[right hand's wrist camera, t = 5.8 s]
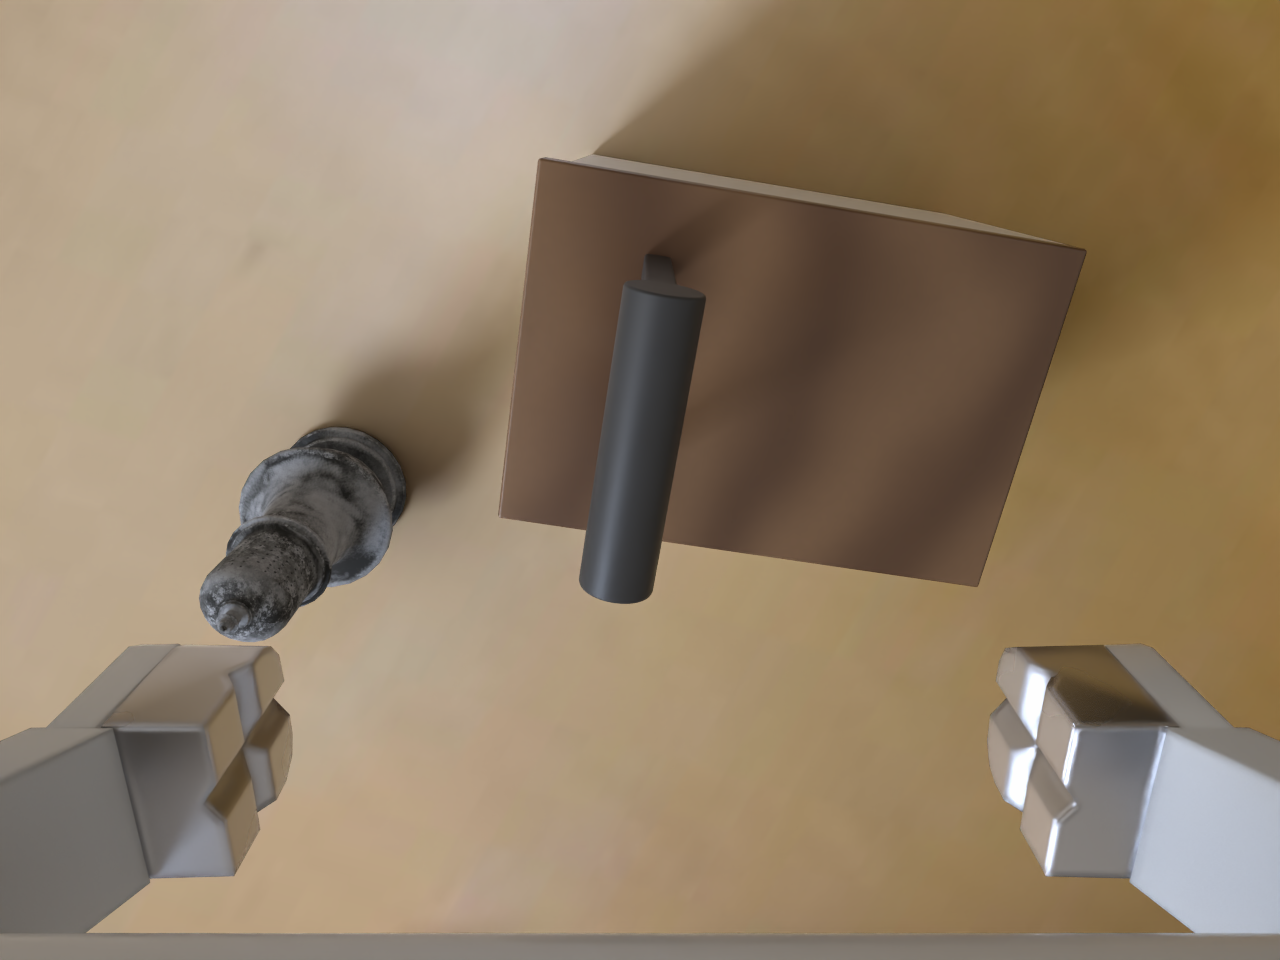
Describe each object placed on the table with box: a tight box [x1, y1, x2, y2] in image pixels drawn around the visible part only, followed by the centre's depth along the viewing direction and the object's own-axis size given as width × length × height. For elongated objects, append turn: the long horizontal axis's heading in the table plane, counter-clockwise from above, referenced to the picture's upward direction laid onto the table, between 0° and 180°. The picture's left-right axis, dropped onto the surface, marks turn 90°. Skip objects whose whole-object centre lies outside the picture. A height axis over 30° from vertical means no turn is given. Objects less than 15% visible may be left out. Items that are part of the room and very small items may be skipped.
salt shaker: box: [199, 427, 406, 642], centre depth 33 cm, size 6×6×12 cm
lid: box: [498, 157, 1086, 604], centre depth 22 cm, size 14×10×8 cm
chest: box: [572, 154, 1063, 244], centre depth 31 cm, size 14×10×11 cm
